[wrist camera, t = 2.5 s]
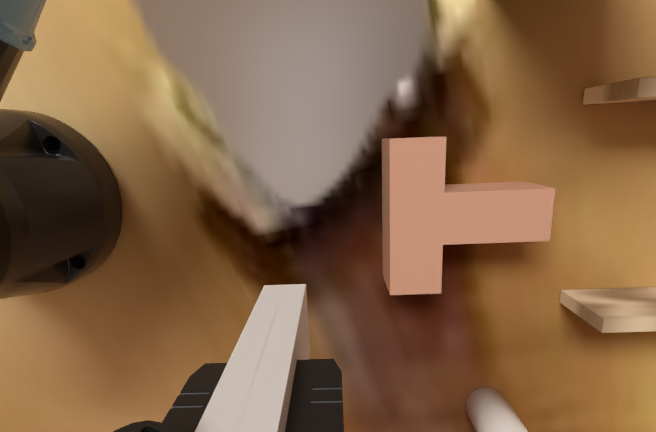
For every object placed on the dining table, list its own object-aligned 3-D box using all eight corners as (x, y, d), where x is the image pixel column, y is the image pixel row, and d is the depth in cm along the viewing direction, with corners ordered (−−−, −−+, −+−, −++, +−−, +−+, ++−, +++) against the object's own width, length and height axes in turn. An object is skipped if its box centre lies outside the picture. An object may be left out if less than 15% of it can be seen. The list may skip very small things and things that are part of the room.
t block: (382, 275, 31) (390, 295, 27) (381, 139, 28) (389, 139, 24) (517, 270, 31) (544, 290, 27) (529, 132, 28) (561, 131, 24)
